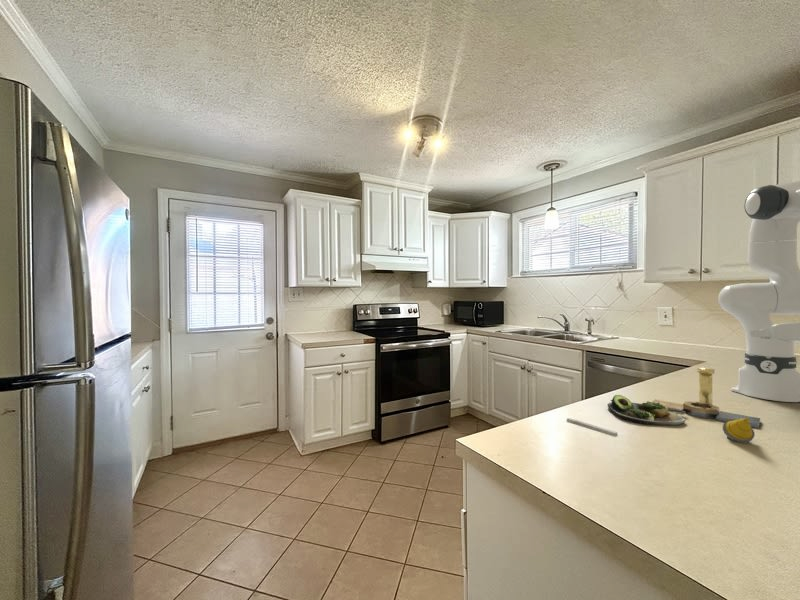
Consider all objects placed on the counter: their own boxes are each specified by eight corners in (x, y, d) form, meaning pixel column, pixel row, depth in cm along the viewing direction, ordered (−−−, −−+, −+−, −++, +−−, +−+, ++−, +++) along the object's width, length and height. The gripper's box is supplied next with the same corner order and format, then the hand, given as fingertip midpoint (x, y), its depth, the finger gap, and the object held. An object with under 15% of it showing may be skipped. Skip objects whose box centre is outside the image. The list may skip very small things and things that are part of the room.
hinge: (655, 402, 110) (655, 394, 110) (760, 421, 92) (760, 412, 92) (649, 406, 105) (648, 399, 105) (758, 428, 87) (758, 419, 87)
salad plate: (670, 408, 104) (670, 394, 104) (707, 431, 87) (707, 413, 87) (601, 404, 109) (601, 390, 109) (622, 424, 92) (622, 407, 92)
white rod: (617, 436, 84) (617, 432, 84) (615, 437, 84) (615, 433, 83) (568, 421, 95) (568, 417, 95) (566, 422, 94) (566, 418, 94)
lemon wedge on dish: (755, 441, 80) (771, 423, 74) (734, 451, 80) (749, 433, 74) (732, 422, 84) (746, 403, 78) (713, 431, 84) (725, 413, 78)
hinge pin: (698, 405, 106) (698, 366, 106) (715, 408, 103) (715, 368, 103) (696, 407, 104) (695, 368, 104) (713, 411, 101) (713, 370, 101)
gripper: (838, 324, 90) (764, 326, 102) (825, 316, 79) (744, 320, 91) (842, 347, 89) (767, 347, 101) (830, 343, 78) (747, 344, 90)
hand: (755, 334), depth 96 cm, fingers open, 8 cm apart
